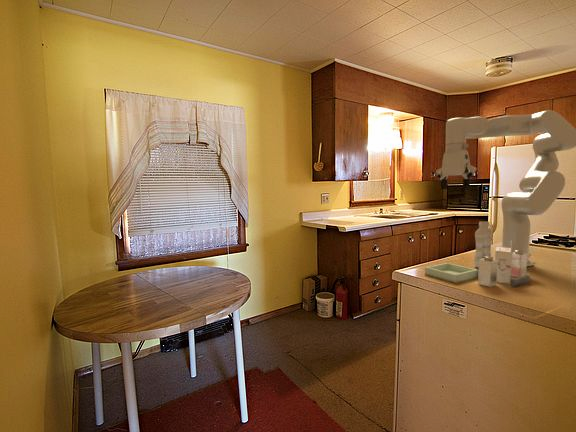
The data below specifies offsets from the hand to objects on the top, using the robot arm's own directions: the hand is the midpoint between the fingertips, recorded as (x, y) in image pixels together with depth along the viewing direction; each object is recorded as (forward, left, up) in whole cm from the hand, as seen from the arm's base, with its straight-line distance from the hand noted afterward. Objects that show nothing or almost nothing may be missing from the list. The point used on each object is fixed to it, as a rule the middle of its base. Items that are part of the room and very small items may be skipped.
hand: (454, 189), depth 128 cm
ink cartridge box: (+2, +21, -34) cm, 40 cm away
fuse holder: (+3, +22, -34) cm, 40 cm away
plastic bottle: (-8, +8, -34) cm, 36 cm away
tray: (+14, +9, -34) cm, 38 cm away
